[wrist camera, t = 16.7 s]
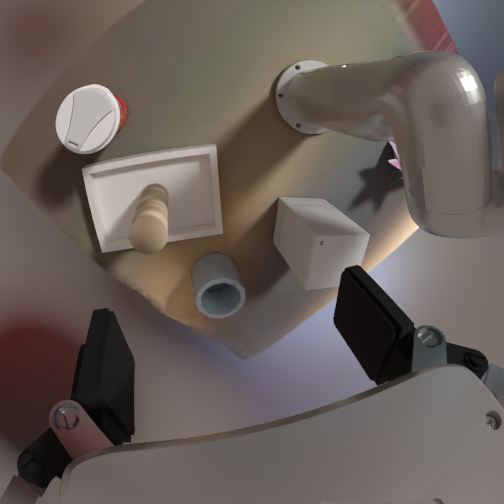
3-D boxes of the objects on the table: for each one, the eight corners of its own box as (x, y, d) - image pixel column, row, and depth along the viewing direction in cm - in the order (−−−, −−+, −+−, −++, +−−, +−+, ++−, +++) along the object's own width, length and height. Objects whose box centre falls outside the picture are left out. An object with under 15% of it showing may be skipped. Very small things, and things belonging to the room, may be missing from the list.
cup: (234, 249, 52) (244, 274, 45) (236, 286, 56) (246, 313, 49) (188, 257, 51) (192, 283, 44) (195, 293, 55) (199, 322, 48)
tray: (213, 143, 42) (216, 145, 40) (220, 226, 49) (223, 233, 47) (87, 164, 38) (81, 168, 36) (105, 244, 45) (102, 253, 43)
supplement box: (271, 243, 53) (302, 292, 41) (277, 196, 49) (316, 234, 37) (315, 242, 56) (355, 287, 43) (324, 198, 52) (371, 234, 39)
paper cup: (120, 146, 39) (98, 167, 27) (79, 127, 35) (41, 141, 23) (145, 100, 36) (131, 99, 24) (102, 81, 33) (71, 74, 21)
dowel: (166, 181, 42) (164, 215, 30) (170, 208, 44) (170, 250, 33) (138, 185, 41) (125, 221, 30) (143, 212, 44) (133, 256, 32)
